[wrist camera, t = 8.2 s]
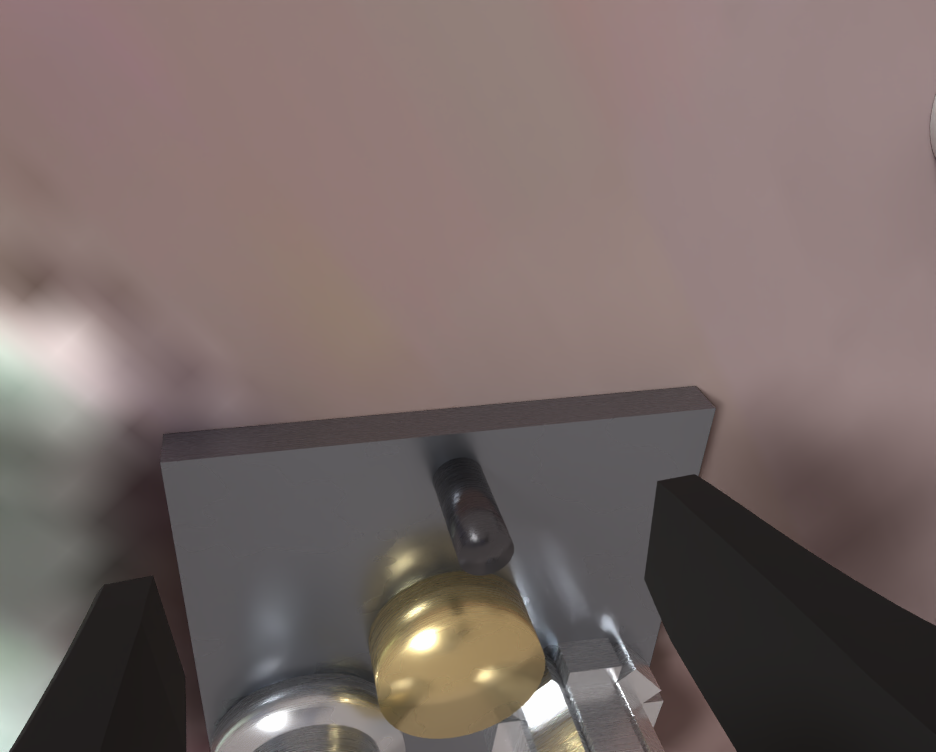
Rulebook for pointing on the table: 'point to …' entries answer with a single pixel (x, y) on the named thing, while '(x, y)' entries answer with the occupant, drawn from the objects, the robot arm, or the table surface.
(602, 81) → the table surface
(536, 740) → the gear
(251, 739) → the silver rounded piece
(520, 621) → the carrier
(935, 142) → the cup
